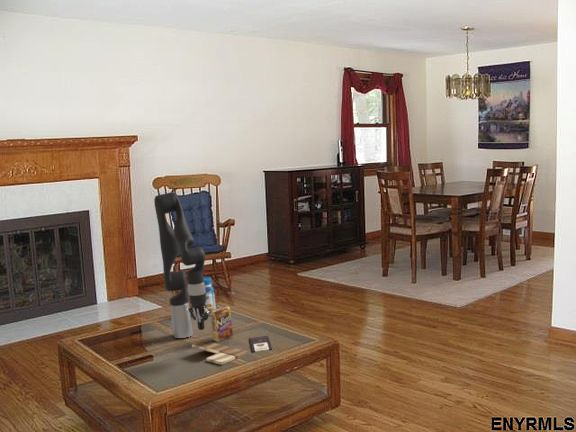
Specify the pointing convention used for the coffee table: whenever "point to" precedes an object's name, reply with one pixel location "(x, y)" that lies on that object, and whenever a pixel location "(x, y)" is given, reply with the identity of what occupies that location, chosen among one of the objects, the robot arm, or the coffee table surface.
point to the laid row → (227, 350)
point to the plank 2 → (220, 358)
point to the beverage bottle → (209, 295)
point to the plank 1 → (205, 348)
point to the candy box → (221, 323)
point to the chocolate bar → (260, 344)
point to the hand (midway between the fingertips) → (201, 329)
